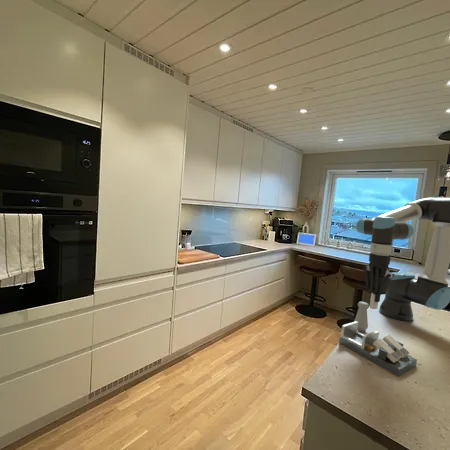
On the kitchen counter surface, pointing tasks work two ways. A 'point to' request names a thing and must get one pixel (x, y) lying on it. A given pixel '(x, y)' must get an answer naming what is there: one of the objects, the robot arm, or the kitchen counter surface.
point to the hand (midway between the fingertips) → (373, 308)
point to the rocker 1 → (390, 352)
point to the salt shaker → (362, 316)
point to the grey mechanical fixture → (374, 349)
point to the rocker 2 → (399, 349)
